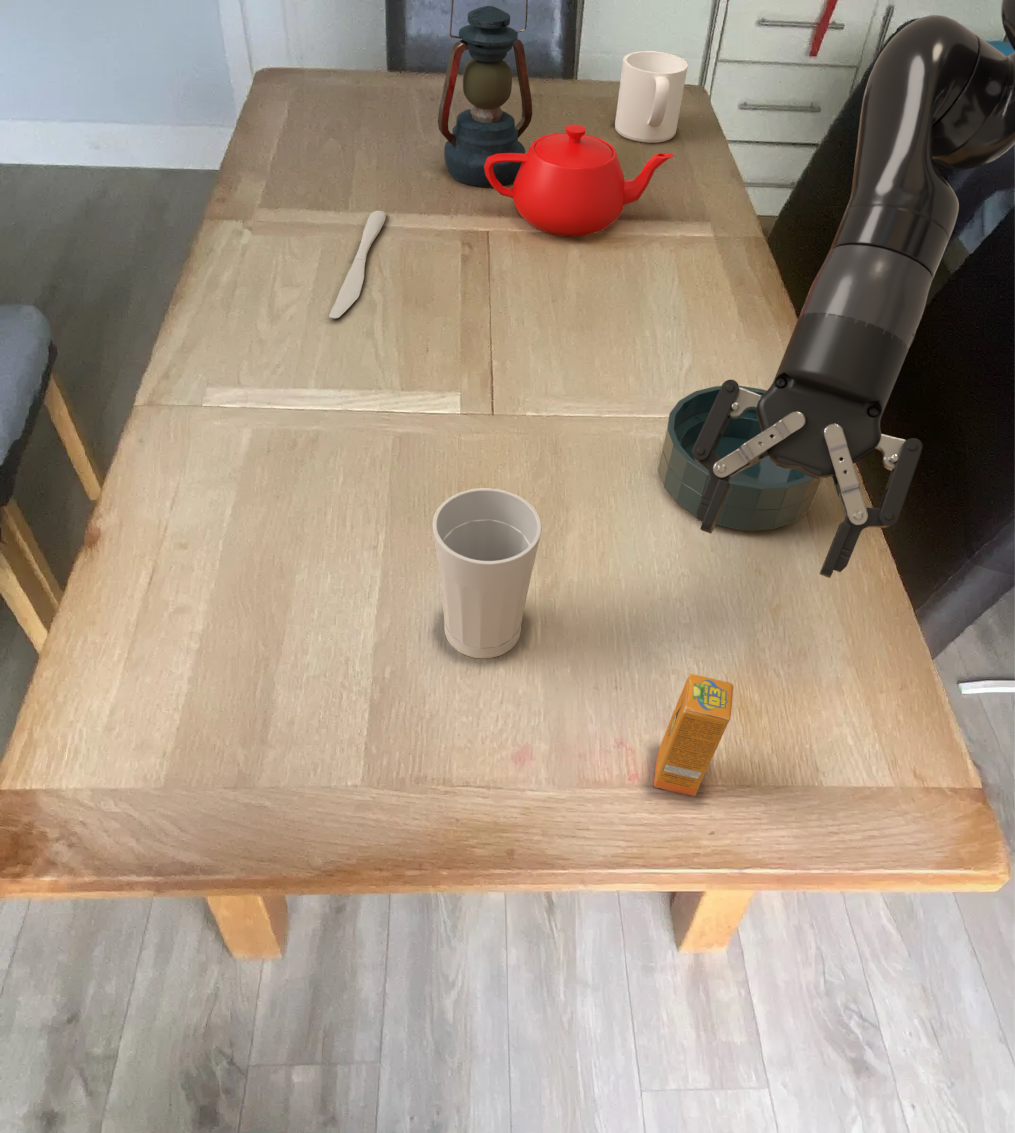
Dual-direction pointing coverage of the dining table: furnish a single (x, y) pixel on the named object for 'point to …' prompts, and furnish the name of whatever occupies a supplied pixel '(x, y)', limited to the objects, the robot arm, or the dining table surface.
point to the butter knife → (358, 266)
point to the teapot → (571, 182)
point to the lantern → (485, 98)
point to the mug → (650, 96)
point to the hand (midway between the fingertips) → (764, 553)
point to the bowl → (753, 494)
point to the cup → (485, 567)
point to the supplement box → (693, 734)
